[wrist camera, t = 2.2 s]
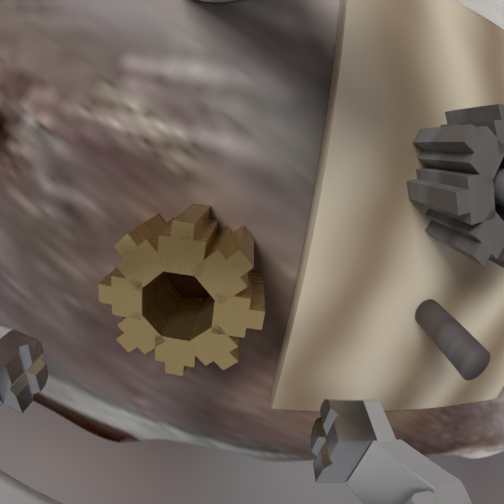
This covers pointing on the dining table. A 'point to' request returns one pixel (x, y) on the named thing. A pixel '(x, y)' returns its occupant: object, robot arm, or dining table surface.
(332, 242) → the gear board
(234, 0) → the energy drink
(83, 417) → the dining table surface
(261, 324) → the brass gear
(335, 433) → the robot arm
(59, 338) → the dining table surface
